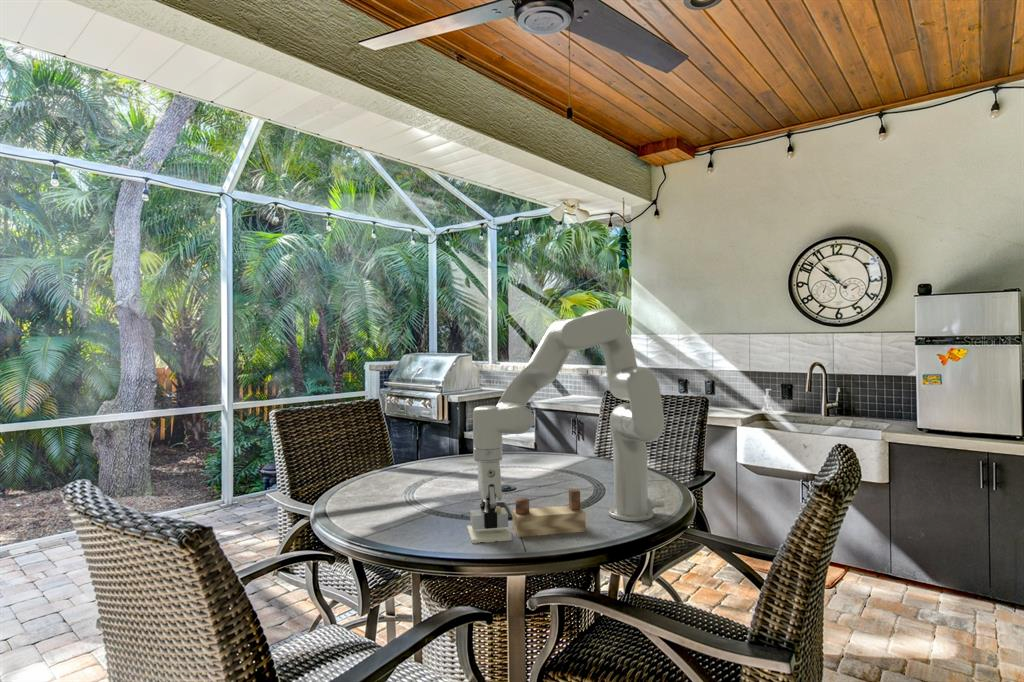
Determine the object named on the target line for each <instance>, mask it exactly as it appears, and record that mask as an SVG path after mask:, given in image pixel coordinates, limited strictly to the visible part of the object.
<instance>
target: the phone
mask: <svg viewBox="0 0 1024 682" xmlns="http://www.w3.org/2000/svg"><path fill="white" fill-rule="evenodd" d="M481 506H483V505H481V503H480V505H479V507H480V508H479V509H481ZM496 506H500V508H505V510H506V511H507V513H508V519H509V520H512V519H513V514H512V513H511V511H510V509H509V507H508V504H507V503H506V502H505V501H504V502H503V501H499V502H497V501H496ZM511 518H512V519H511Z"/></svg>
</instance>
